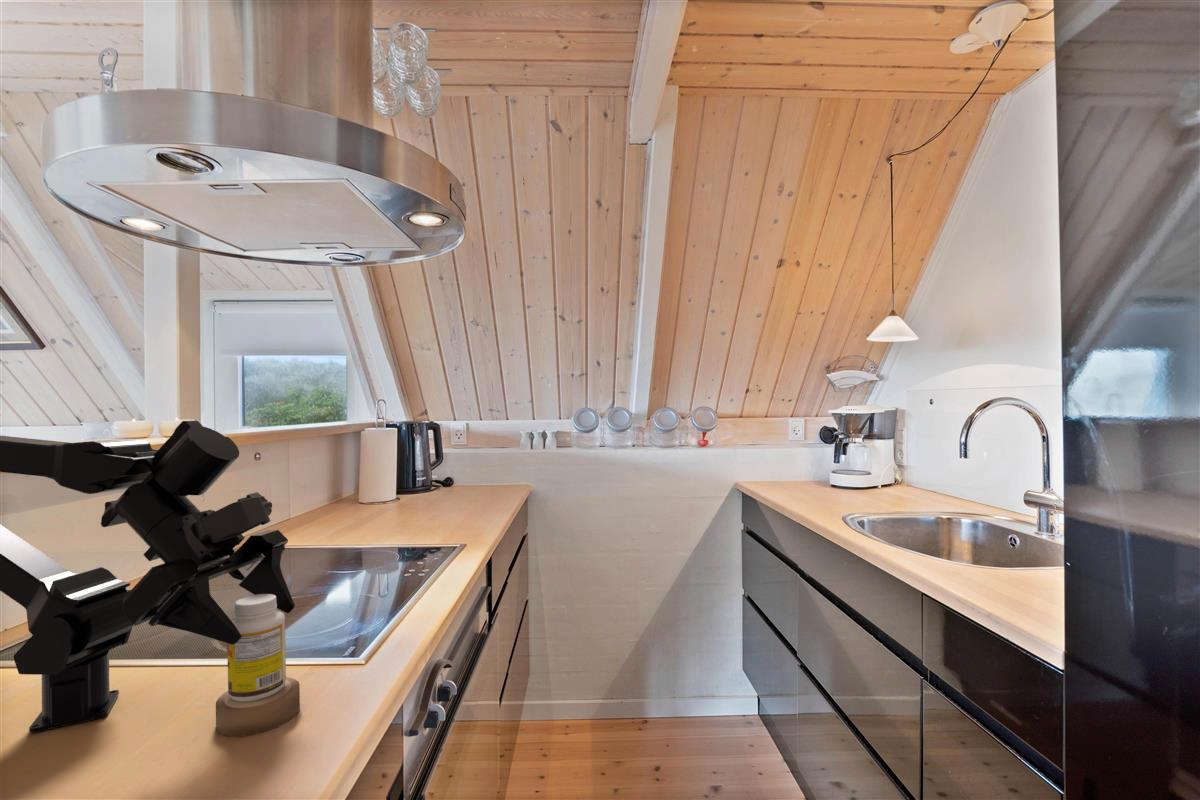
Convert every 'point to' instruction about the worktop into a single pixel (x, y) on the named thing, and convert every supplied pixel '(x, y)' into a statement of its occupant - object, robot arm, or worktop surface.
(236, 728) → the walnut stand
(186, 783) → the worktop surface
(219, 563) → the robot arm
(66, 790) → the worktop surface
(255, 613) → the supplement bottle
